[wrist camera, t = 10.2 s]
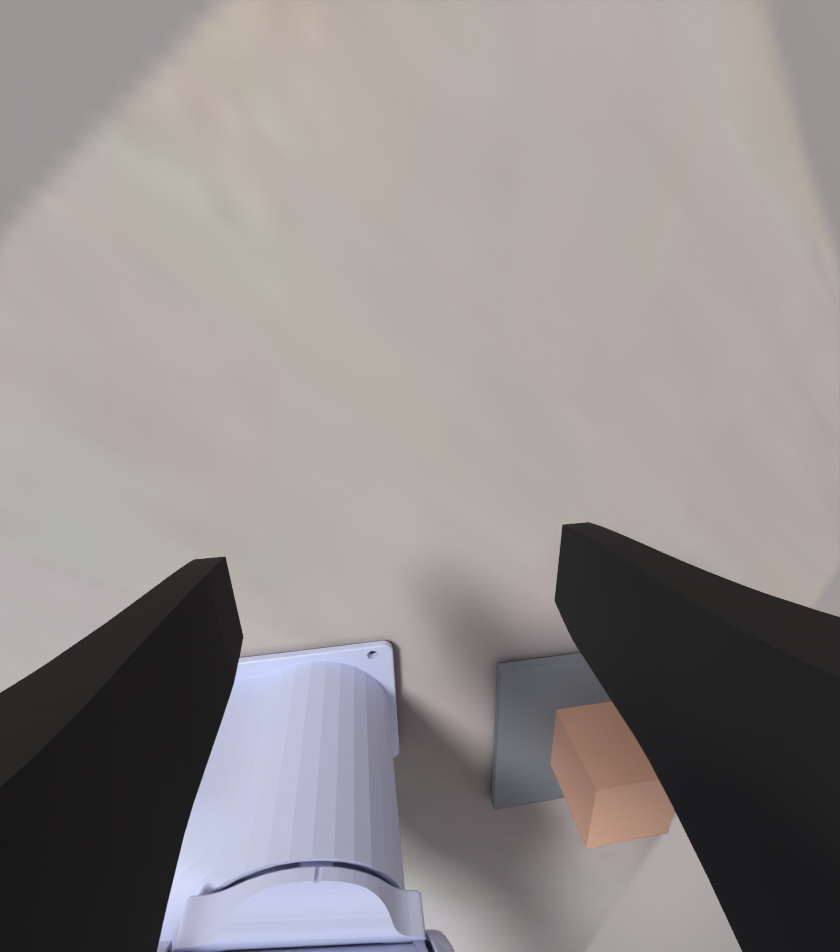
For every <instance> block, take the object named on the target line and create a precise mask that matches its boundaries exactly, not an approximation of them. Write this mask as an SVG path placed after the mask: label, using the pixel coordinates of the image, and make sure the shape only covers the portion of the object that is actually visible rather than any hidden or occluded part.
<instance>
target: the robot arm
mask: <svg viewBox="0 0 840 952" xmlns="http://www.w3.org/2000/svg"><path fill="white" fill-rule="evenodd" d="M555 603H556V605H557V607H558V609H559V612H560V614H561V616H562V618H563V621H564V623H565V625H566V627H567V629H568V631H569V633H570V635H571V637H572V639H573V641H574V643H575V644H576V646H577V648H578V649H579V651H580V653H581V654H582V656H583V657H584V659H585V660H586V662H587V664H588V665H589V667H590V668H591V670H592V671H593V673H594V675H595V676H596V678H597V679H598V681H599V682H600V684H601V685H602V687H603V688H604V690H605V692H606V693H607V695H608V696H609V698H610V699H611V701H612V702H613V704H614V705H615V707H616V709H617V710H618V712H619V713H620V715H621V716H622V718H623V719H624V721H625V722H626V724H627V726H628V727H629V729H630V730H631V732H632V733H633V735H634V736H635V738H636V740H637V741H638V743H639V745H640V747H641V748H642V750H643V752H644V753H645V755H646V757H647V758H648V760H649V762H650V764H651V766H652V768H653V770H654V772H655V773H656V775H657V777H658V779H659V781H660V783H661V785H662V787H663V789H664V791H665V793H666V794H667V796H668V798H669V800H670V802H671V804H672V806H673V808H674V810H675V812H676V814H677V816H678V818H679V820H680V822H681V824H682V826H683V828H684V830H685V832H686V833H687V836H688V838H689V840H690V842H691V844H692V846H693V848H694V850H695V852H696V854H697V856H698V858H699V860H700V862H701V864H702V866H703V868H704V870H705V872H706V874H707V876H708V878H709V880H710V883H711V885H712V887H713V889H714V891H715V894H716V896H717V898H718V900H719V902H720V904H721V907H722V909H723V911H724V913H725V915H726V917H727V919H728V922H729V924H730V926H731V928H732V930H733V932H734V935H735V937H736V939H737V941H738V943H739V945H740V948H741V950H742V952H840V617H837V616H834V615H831V614H827V613H824V612H820V611H817V610H814V609H811V608H808V607H805V606H802V605H799V604H796V603H793V602H790V601H787V600H784V599H780V598H777V597H774V596H771V595H768V594H766V593H763V592H760V591H757V590H754V589H751V588H749V587H746V586H743V585H741V584H738V583H736V582H733V581H730V580H728V579H725V578H723V577H720V576H718V575H715V574H712V573H710V572H707V571H705V570H703V569H700V568H698V567H695V566H693V565H690V564H688V563H686V562H683V561H681V560H679V559H676V558H674V557H672V556H669V555H667V554H665V553H662V552H660V551H658V550H656V549H653V548H651V547H649V546H647V545H644V544H642V543H640V542H637V541H635V540H633V539H631V538H628V537H626V536H624V535H621V534H619V533H617V532H614V531H612V530H609V529H607V528H604V527H601V526H599V525H596V524H592V523H589V522H587V523H577V524H566V525H563V526H562V536H561V545H560V555H559V564H558V574H557V583H556V593H555ZM242 641H243V634H242V629H241V625H240V620H239V616H238V611H237V607H236V602H235V598H234V593H233V589H232V584H231V580H230V575H229V571H228V566H227V562H226V557H217V558H206V559H195V560H193V561H191V562H189V563H188V564H186V565H185V566H183V567H182V568H180V569H179V570H177V571H176V572H175V573H173V574H172V575H170V576H169V577H168V578H166V579H165V580H164V581H162V582H161V583H160V584H158V585H157V586H155V587H154V588H153V589H151V590H150V591H149V592H147V593H146V594H145V595H143V596H142V597H141V598H139V599H138V600H137V601H135V602H134V603H133V604H131V605H130V606H128V607H127V608H126V609H124V610H123V611H122V612H120V613H119V614H118V615H116V616H115V617H114V618H112V619H111V620H109V621H108V622H107V623H105V624H104V625H102V626H101V627H100V628H98V629H97V630H95V631H94V632H92V633H91V634H89V635H88V636H86V637H85V638H83V639H82V640H81V641H79V642H78V643H76V644H75V645H73V646H72V647H70V648H69V649H67V650H66V651H65V652H63V653H62V654H60V655H59V656H57V657H56V658H54V659H53V660H51V661H50V662H49V663H47V664H45V665H44V666H42V667H41V668H39V669H38V670H36V671H35V672H33V673H32V674H30V675H28V676H27V677H25V678H24V679H22V680H20V681H19V682H17V683H16V684H14V685H12V686H11V687H9V688H8V689H6V690H4V691H2V692H1V693H0V952H454V949H453V947H452V946H451V944H450V942H449V941H448V939H447V938H446V936H445V935H444V934H443V933H441V932H440V931H438V930H425V926H424V917H423V909H422V900H421V893H420V892H419V891H414V890H405V885H404V874H403V862H402V851H401V839H400V828H399V817H398V805H397V794H396V782H395V771H394V760H393V758H395V757H396V756H397V755H398V754H399V737H398V721H397V706H396V690H395V675H394V659H393V647H392V645H391V644H390V643H389V642H387V641H377V642H368V643H360V644H352V645H343V646H335V647H327V648H319V649H310V650H302V651H294V652H286V653H277V654H269V655H261V656H252V657H244V658H239V657H240V651H241V646H242ZM371 651H376V653H373V654H372V653H369V652H371Z"/></svg>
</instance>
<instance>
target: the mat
mask: <svg viewBox="0 0 840 952" xmlns="http://www.w3.org/2000/svg"><path fill="white" fill-rule="evenodd" d="M610 701H611V699H610V698H609V696H608V695H607V693H606V692H605V690H604V688H603V687H602V685H601V684H600V682H599V681H598V679H597V678H596V676H595V675H594V673H593V671H592V670H591V668H590V667H589V665H588V664H587V662H586V660H585V659H584V657H583V656H582V654H581V653H575V654H568V655H560V656H552V657H545V658H537V659H530V660H522V661H514V662H507V663H499V664H498V670H497V690H496V710H495V730H494V750H493V770H492V790H491V801H492V805H493V808H494V809H500V808H506V807H512V806H518V805H523V804H529V803H535V802H541V801H547V800H553V799H559V798H564V795H563V792H562V790H561V788H560V785H559V783H558V781H557V778H556V776H555V774H554V771H553V769H552V767H551V764H550V763H551V754H552V745H553V736H554V727H555V718H556V710H558V709H564V708H571V707H577V706H584V705H591V704H597V703H604V702H610Z"/></svg>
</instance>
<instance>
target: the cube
mask: <svg viewBox="0 0 840 952" xmlns="http://www.w3.org/2000/svg"><path fill="white" fill-rule="evenodd" d="M550 764H551V767H552V769H553V771H554V774H555V776H556V778H557V781H558V783H559V785H560V788H561V790H562V792H563V795H564V797H565V800H566V802H567V804H568V807H569V809H570V811H571V814H572V816H573V818H574V821H575V823H576V826H577V828H578V830H579V833H580V835H581V837H582V840H583V842H584V844H585V847H586V849H587V848H592V847H597V846H603V845H608V844H613V843H618V842H623V841H629V840H634V839H639V838H644V837H650V836H655V835H660V834H665V833H668V830H669V826H670V823H671V819H672V816H673V812H674V808H673V806H672V804H671V802H670V800H669V798H668V796H667V794H666V793H665V791H664V789H663V787H662V785H661V783H660V781H659V779H658V777H657V775H656V773H655V772H654V770H653V768H652V766H651V764H650V762H649V760H648V758H647V757H646V755H645V753H644V752H643V750H642V748H641V747H640V745H639V743H638V741H637V740H636V738H635V736H634V735H633V733H632V732H631V730H630V729H629V727H628V726H627V724H626V722H625V721H624V719H623V718H622V716H621V715H620V713H619V712H618V710H617V709H616V707H615V705H614V704H613V702H612V701H610V702H604V703H597V704H591V705H584V706H577V707H571V708H564V709H558V710H556V718H555V727H554V736H553V745H552V754H551V763H550Z"/></svg>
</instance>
